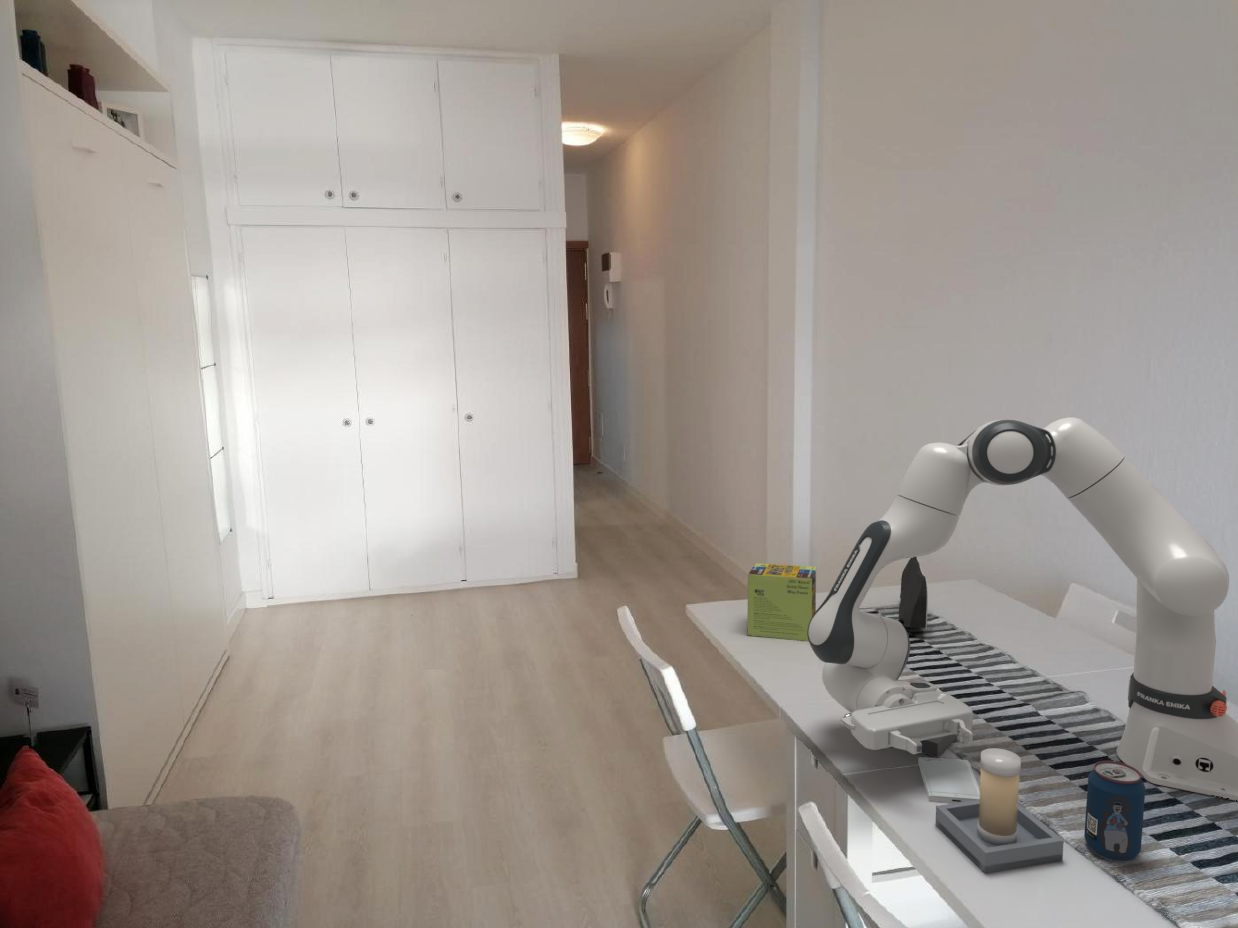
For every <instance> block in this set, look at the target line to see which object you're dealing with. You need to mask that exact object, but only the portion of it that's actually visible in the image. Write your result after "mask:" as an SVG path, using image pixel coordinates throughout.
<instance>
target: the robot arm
mask: <svg viewBox="0 0 1238 928" xmlns="http://www.w3.org/2000/svg"><path fill="white" fill-rule="evenodd" d="M910 462H911V463H910V464H909V466H908V468H907V470H906V472H905V474H904V476H903V477H902V480H901V482H900V485H899V487H898V489H897V492H896V495H895V497H894V500H893V501H892V504H891V505H890V507H888V510H887V511H886V512H885V513H884V514H883V516H882V517H880V518H879V519H878V520H876V521H875V522H874V521H873V522H872V523H870V524H869V525H868V526H867V527H866V528H865V530H863V533H862V534H861V535H860V537H859V538H858V540H857V542H856V543H855V545H854V547H853V549H852V550H851V551H850V552H851V553H850V554H849V556H848V558H847V560H846V562H845V564H844V565H843V567H842V569H841V571H840V573H839V575H838V576H837V578H836V580H835V582H834V583H833V586H832V587H831V589H830V591H829V593H828V594H827V596H826V597H825V599H824V600H823V601H822V603H821V604H820V606H819V607H818V608H817V609H816V612H815V613H814V615H813V616H812V618H811V620H810V622H809V625H808V631H807V635H808V640H809V641H808V644H809V645H810V648H811V650H812V651H813V653H814V654H815V656H816V657H817V658H818V659H819V660H820V661H821V662H822V663H824V665H823V668H822V670H821V671H822V673H821V675H822V677H821V679H822V683H823V685H824V687H825V690H826V691H827V693H828V694H829V696H830V697H831V698H832V699H833V700H834V701H835V702H837V703H838V704H839V705H840V706H841V707H843V708H844V709H845V710H847V711H848V713H845V714H844V715H843V717H841V718H840V722H841V724H842V726H844V727H845V728H847V729H849V730H850V733H851V735H852V736H853V737H854V738H855V740H857V741H858V742H859V743H860V744H861V745H862V746H863V747H864V748H866V749H868V750H872V751H877V750H881V749H883V750H884V749H888V748H892V747H893V748H895V749H899V750H903V751H907V752H908V753H910V754H912V755H916V754H920V753H921V752H922V749H921V748H922V743H921V742H920V741H923V740H927V739H932V738H937V737H942V736H947V735H952V734H955V735H957V734H958V736H957V739H956V740H957V741H958V742H959V743H961V744H968V743H969V744H970V743H973V738H974V735H973V732H972V729H973V718H974V716H973V715H974V714H973V713H974V712H973V710H972V708H971V707H970V705H967V703H964V702H963V701H961V700H959V699H958V698H956V697H954V696H952V695H950V694H949V693H946V692H943V691H938V689H937V688H938V687H937V686H936V685H935V684H933V683H930V682H915V681H913V682H912V681H911V682H909V681H903V680H899V678H900V677H901V676H902V673H903V671H904V670H905V668H906V665H907V663H908V661H909V657H910V653H911V641H910V636H909V633H908V631H907V629H906V626H905V625H904V624H903V623H902V621H899V619H895V618H892V617H891V618H890V617H887V616H882V615H879V614H876V613H875V614H874V613H869V612H865V611H861V610H859V609H860V607H861V605H862V603H863V601H864V600H865V597H866V596H867V595H868V593H869V590H870V589H871V588H872V587H871V586H873V583H874V581H875V579H876V578H877V576H878V574H879V573H880V572H881V571H882V570H883V568H885V567H886V566H888V565H889V564H891V563H894V562H897V561H900V560H903V559H907V558H913V557H923V556H927V555H930V554H933V553H936V552H937V551H939V550H941V549H943V547H945V546H946V545H947V544H948V542H949V540H951V539H952V536H953V535H954V533H955V530H956V527H957V525H958V522H959V519H960V516H961V515H962V511H963V508H964V505H965V503H966V500H967V498H968V497H969V495H970V493H971V492H972V491H973V489H975V487H977V486H979V485H980V484H983V483H985V484H986V483H987V484H991V485H995V486H1010V485H1011V486H1012V485H1017V484H1021V483H1024V482H1027V481H1029V480H1031V479H1033V478H1035V477H1038V476H1042V477H1043V478H1046V479H1047V480H1048V481H1050V482H1051V483H1053V485H1054V486H1056V487H1057V489H1058V490H1059V491H1060V492H1061V493H1062V495H1063V496H1064V497H1065V498H1066V499H1067V500H1068V502H1070V503H1071V504H1072V505H1073V507H1075V509H1076V510H1077V511H1078V512H1079V513H1080V514H1081V515H1082V516H1083V518H1084V519H1085V520H1086V521H1087V522H1089V524H1090V525H1091V526H1092V527H1093V528H1094V529H1095V530H1096V532H1098V534H1099V535H1100V536H1101V538H1103V540H1104V541H1105V542H1106V543H1107V545H1108V546H1109V547H1110V548H1111V549H1112V551H1114V553H1115V554H1116V556H1118V558H1119V559H1120V560H1121V561H1122V562H1123V564H1124V565H1125V566H1126V568H1128V569H1129V571H1130V572H1131V573H1132V574H1133V576H1134V577H1136V630H1135V631H1136V632H1135V633H1136V634H1135V635H1136V636H1135V645H1134V646H1135V647H1134V661H1133V662H1134V663H1133V672H1131V673H1132V674H1131V675H1130V676H1129V677H1130V678H1129V680H1128V688H1127V689H1128V690H1127V701H1128V703H1127V704H1128V708H1129V709H1128V713H1127V718H1126V723H1125V727H1124V731H1123V733H1122V736H1121V739H1120V741H1119V743H1118V745H1117V747H1116V755H1117V756H1118V758H1119V759H1120V760H1121V761H1122V763H1124V764H1127V765H1129V766H1131V767H1133V768H1135V769H1136V770H1138V771H1139V772H1140V774H1141V777H1143V778H1144V779H1145V780H1146V781H1148V782H1149V783H1151V784H1154V785H1159V786H1164V787H1169V788H1172V789H1173V788H1174V789H1177V790H1182V791H1187V792H1188V791H1189V792H1193V793H1197V794H1202V795H1203V794H1204V795H1207V796H1211V795H1215V796H1214V797H1216V796H1222V797H1223V798H1222V799H1226V798H1229V799H1228V800H1232V801H1236V800H1237V802H1238V721H1237V720H1235V719H1234V718H1233V717H1232V716H1230V715H1229V714H1228V713H1227V710H1228V706H1227V701H1228V699H1227V692H1226V690H1225V689H1224V690H1223V691H1222V692H1221V691H1220V690H1218V689H1217V688H1216V687H1215V686H1213V682H1214V671H1215V670H1214V669H1215V659H1216V658H1215V657H1216V648H1217V637H1216V626H1215V625H1216V624H1215V610H1217V609H1218V608H1219V607H1221V606H1222V604H1223V603H1224V602H1225V600H1226V598H1227V595H1228V592H1229V588H1230V574H1229V570H1228V568H1227V566H1226V564H1225V562H1224V561H1223V560H1222V558H1221V557H1220V556H1219V554H1218V552H1217V551H1216V550H1215V549H1214V547H1213V546H1212V544H1210V542H1209V541H1208V540H1207V538H1205V536H1203V535H1202V534H1201V533H1199V532H1197V531H1195V528H1193V527H1192V526H1191V525H1190V524H1189V523H1188V522H1187V521H1186V520H1185V518H1183V516H1182V515H1181V514H1180V512H1178V511H1177V510H1176V509H1175V508H1174V506H1173V504H1171V503H1170V502H1169V501H1168V500H1167V499H1166V498H1165V497H1164V495H1163V494H1162V493H1161V491H1159V490H1158V489H1157V488H1156V487H1155V486H1154V485H1153V484H1152V482H1151V481H1150V480H1149V479H1148V478H1146V476H1145V475H1144V474H1143V473H1142V472H1141V471H1140V470H1139V469H1138V468H1137V466H1135V465H1134V464H1133V463H1132V462H1131V460H1129V458H1128V457H1127V456H1126V455H1125V454H1124V453H1123V452H1122V451H1121V450H1120V449H1119V448H1118V447H1117V446H1116V445H1114V443H1112V442H1111V441H1110V440H1109V439H1108V438H1107V437H1105V436H1104V435H1103V434H1102V433H1101V432H1099V431H1098V430H1097V429H1096V428H1094V427H1093V426H1091V425H1090V424H1088V423H1087V422H1085V421H1084V420H1083V419H1081V418H1078V417H1073V416H1070V417H1068V416H1067V417H1064V418H1060V419H1057V420H1055V421H1052V422H1050V423H1049V424H1048V425H1046V426H1045V427H1044V428H1041V427H1038V426H1035V425H1031V424H1029V423H1026V422H1024V421H1021V420H1014V419H997V420H992V421H991V420H990V421H989V422H985V423H984V424H983V425H981V426H980V427H978V428H977V429H976V430H974V431H973V432H972V433H970V434H969V435H968V436H967V437H966V438H965V439H963V440H962V441H961V442H959V444H957V445H955V444H951V443H947V442H940V441H939V442H931V443H927V444H925V445H923V446H921V448H919V449H918V451H917V452H916V454H915V456H914V457H913V459H912V460H911V461H910ZM921 754H922V753H921Z"/></svg>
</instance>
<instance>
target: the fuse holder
mask: <svg viewBox="0 0 1238 928" xmlns="http://www.w3.org/2000/svg"><path fill="white" fill-rule="evenodd" d="M957 736H958V734H957V735H955V734H952V735H947V736H942V737H937V738H932V739H927V740H923V741H920V742H921V743H922V748H921V749H922V752H921V754H925V755H929V756H930V757H931V756H932V757H933V758H938V757H940V756H941V754H942V753H944V752H945V751H946V750H947V748H949V746H951V745H952V743H954V742H955V741H956V740H957Z"/></svg>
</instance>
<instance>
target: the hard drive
mask: <svg viewBox="0 0 1238 928" xmlns="http://www.w3.org/2000/svg"><path fill="white" fill-rule="evenodd" d="M917 763H918V767H919V771H920V775H921V778H922V781H923V785H924V789H925V792H926V795H927V799H928V802H934V803H947V804H953V803H960V802H967V801H974V800H979V799H980V785H979V784H978V783H979V782H978V781H977V777H976V775H975V772H974V770H973V768H972V765H971V763H970V761H969V760H967V759H955V758H944V757H943V758H940V757H939V758H938V757H927V756H926V757H922V756H920V757H918V761H917Z"/></svg>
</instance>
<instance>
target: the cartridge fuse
mask: <svg viewBox="0 0 1238 928" xmlns="http://www.w3.org/2000/svg"><path fill="white" fill-rule="evenodd" d="M1021 766H1022V759H1021V757H1020V756H1019V755H1018V754H1017V753H1015V752H1014V751H1010V750H1008V749H1003V748H997V747H996V748H993V747H991V748H987V749H983V750H982V751H981V752H980V778H979V780H980V783H979V784H980V785H979V788H980V799H979V820H978V826H977V834H978V836H979V837H980V838H981V839H982V840H984V841H986V842H988V843H990V844H993V845H997V846H1001V845H1008V844H1014V843H1016V841H1017V811H1018V804H1019V791H1020V790H1019V789H1020V788H1019V787H1020V774H1021V768H1022V767H1021Z"/></svg>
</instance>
